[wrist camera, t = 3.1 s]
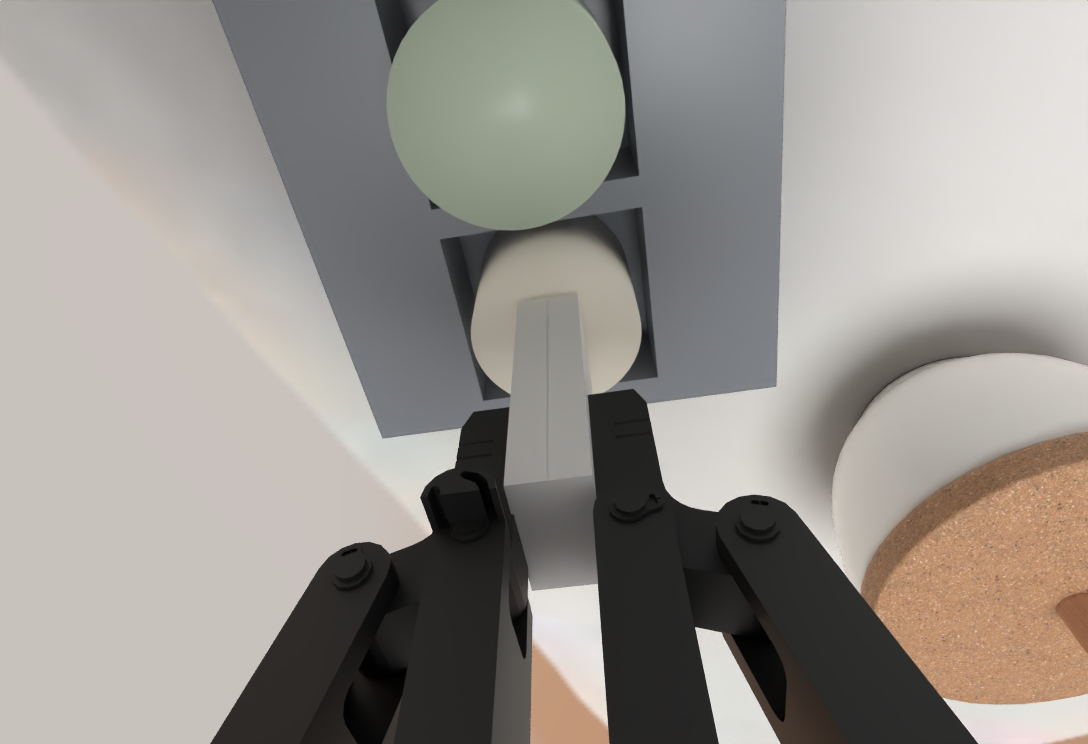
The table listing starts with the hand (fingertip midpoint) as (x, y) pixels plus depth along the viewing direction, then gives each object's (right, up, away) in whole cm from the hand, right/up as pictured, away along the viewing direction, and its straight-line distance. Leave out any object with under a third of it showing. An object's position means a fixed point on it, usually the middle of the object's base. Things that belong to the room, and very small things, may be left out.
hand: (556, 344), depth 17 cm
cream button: (0, +2, +3) cm, 4 cm away
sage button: (-1, +6, -2) cm, 6 cm away
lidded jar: (+14, -3, +8) cm, 17 cm away
